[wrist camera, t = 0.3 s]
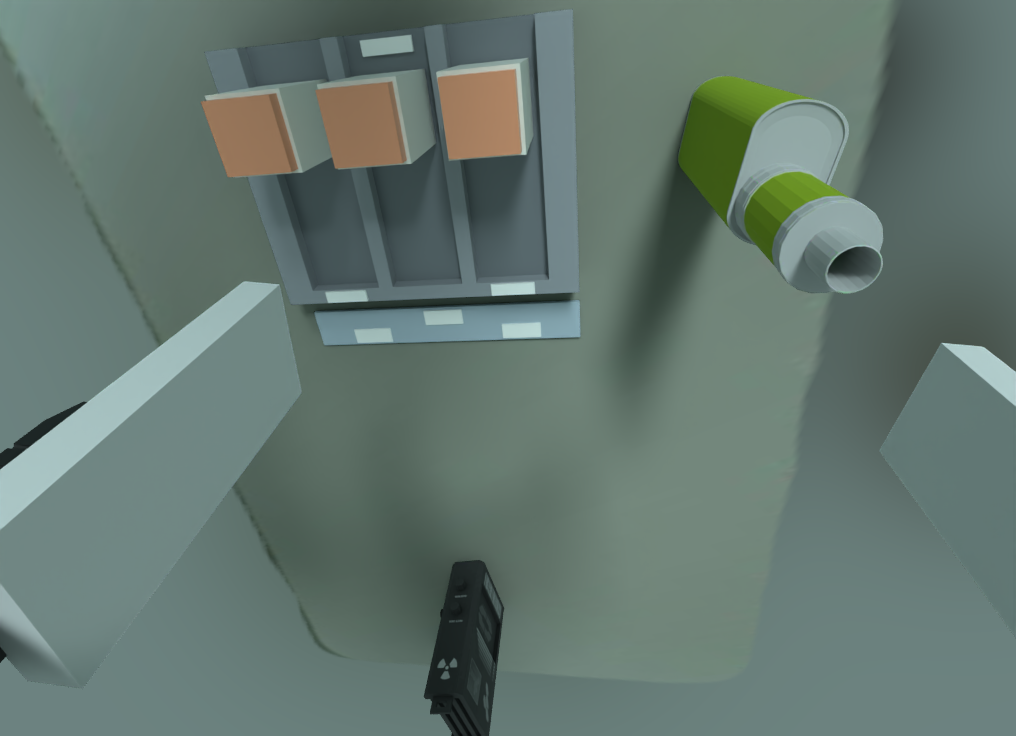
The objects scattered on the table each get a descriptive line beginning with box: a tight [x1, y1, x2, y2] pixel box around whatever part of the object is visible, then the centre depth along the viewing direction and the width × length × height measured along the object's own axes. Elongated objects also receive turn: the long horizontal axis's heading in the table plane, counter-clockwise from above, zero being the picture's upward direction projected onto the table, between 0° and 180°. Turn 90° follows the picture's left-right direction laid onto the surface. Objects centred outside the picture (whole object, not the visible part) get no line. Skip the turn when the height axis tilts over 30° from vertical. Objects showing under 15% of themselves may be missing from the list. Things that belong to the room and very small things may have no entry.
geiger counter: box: [424, 560, 504, 736], centre depth 53 cm, size 10×5×15 cm, turn 15°
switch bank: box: [204, 9, 579, 305], centre depth 34 cm, size 16×21×3 cm
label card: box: [314, 300, 580, 345], centre depth 41 cm, size 3×21×1 cm, turn 95°
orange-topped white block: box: [315, 69, 436, 170], centre depth 29 cm, size 4×4×7 cm
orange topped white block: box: [201, 79, 332, 178], centre depth 29 cm, size 4×4×7 cm
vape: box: [678, 76, 883, 294], centre depth 24 cm, size 4×6×20 cm, turn 176°
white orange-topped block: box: [436, 58, 534, 161], centre depth 28 cm, size 4×4×7 cm
